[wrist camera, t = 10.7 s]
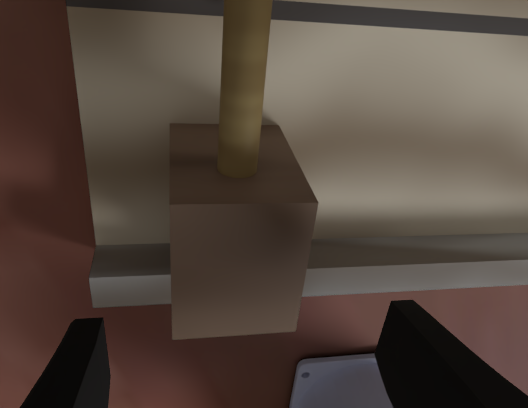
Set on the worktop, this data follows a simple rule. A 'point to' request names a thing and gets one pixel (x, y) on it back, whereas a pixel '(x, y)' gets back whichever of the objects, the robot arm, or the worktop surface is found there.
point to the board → (320, 135)
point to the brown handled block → (238, 202)
